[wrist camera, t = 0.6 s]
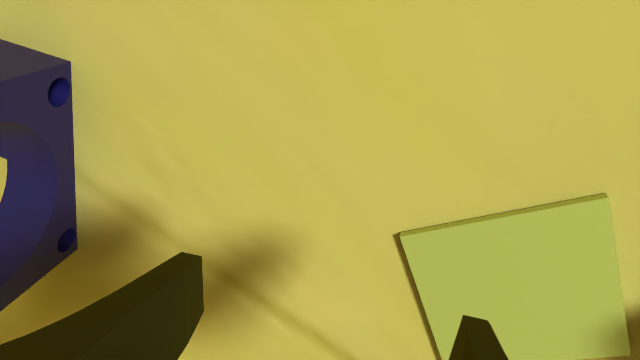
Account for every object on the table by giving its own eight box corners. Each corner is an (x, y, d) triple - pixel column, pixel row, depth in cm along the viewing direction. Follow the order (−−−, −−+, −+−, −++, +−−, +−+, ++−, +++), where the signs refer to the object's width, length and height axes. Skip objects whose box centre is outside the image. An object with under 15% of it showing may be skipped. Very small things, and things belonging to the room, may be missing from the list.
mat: (627, 349, 22) (630, 355, 22) (445, 364, 25) (445, 370, 25) (605, 193, 19) (608, 197, 19) (400, 232, 22) (399, 236, 22)
